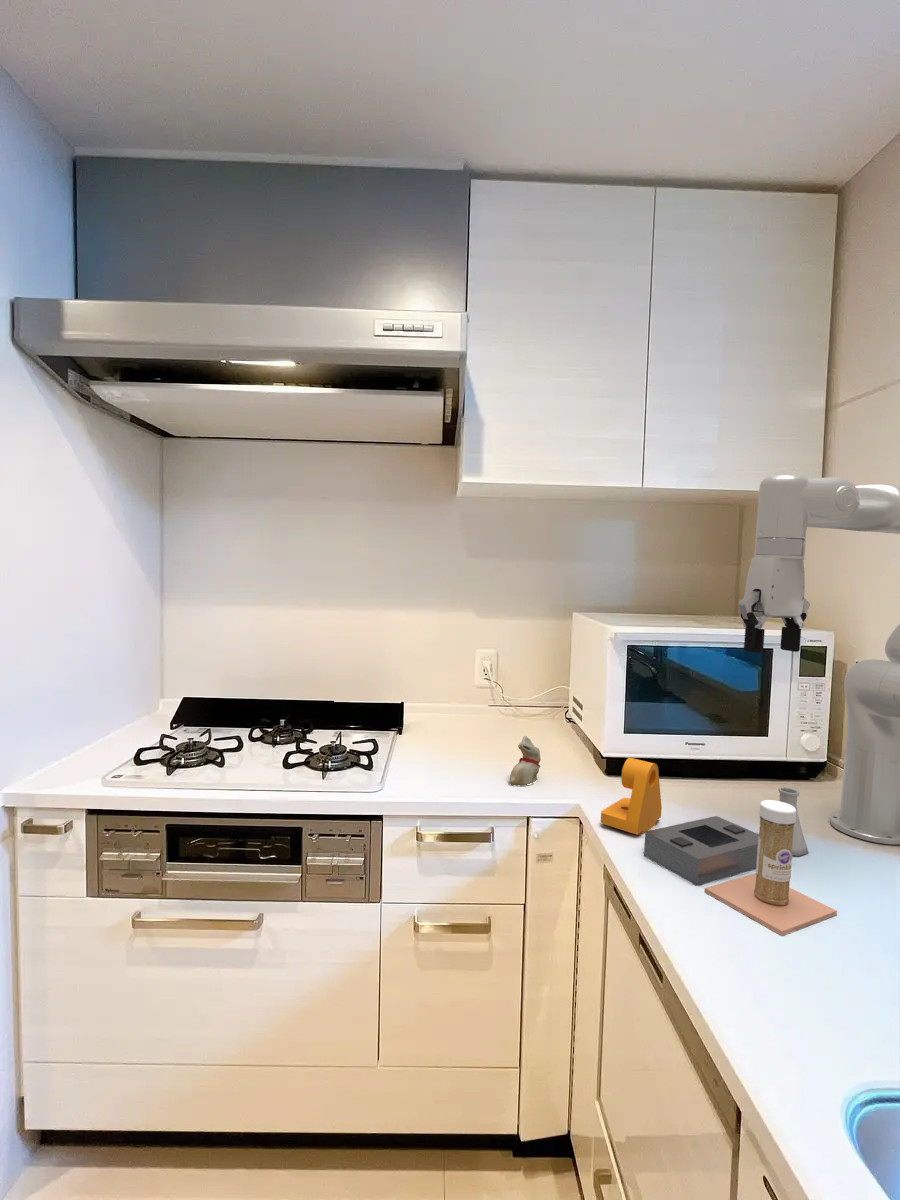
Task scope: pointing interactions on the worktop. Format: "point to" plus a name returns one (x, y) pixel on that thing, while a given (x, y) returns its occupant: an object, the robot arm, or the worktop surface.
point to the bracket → (636, 799)
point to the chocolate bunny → (526, 764)
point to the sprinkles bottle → (774, 852)
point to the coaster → (770, 906)
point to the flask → (798, 838)
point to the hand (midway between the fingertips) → (771, 651)
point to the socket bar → (703, 849)
